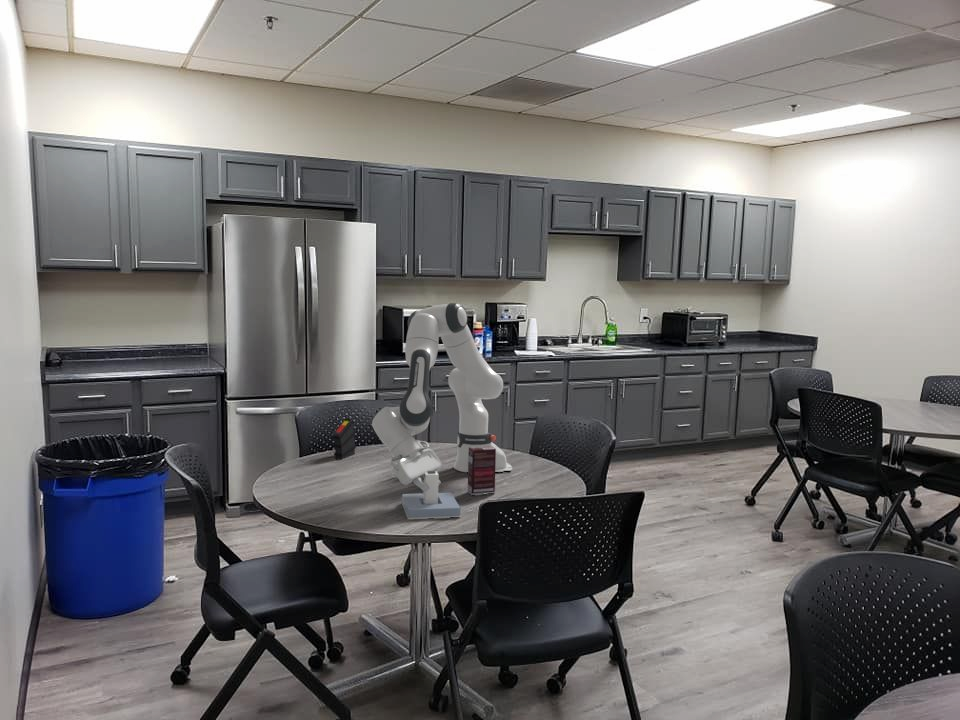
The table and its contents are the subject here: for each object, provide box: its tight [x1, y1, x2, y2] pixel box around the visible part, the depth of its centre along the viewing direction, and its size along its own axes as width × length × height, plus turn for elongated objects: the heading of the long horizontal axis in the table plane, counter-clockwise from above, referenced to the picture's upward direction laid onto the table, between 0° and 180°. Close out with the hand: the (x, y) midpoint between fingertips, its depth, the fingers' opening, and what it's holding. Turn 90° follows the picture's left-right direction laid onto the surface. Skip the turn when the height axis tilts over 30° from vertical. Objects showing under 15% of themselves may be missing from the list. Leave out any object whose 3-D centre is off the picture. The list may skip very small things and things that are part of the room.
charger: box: [422, 470, 440, 504], centre depth 225 cm, size 4×4×11 cm
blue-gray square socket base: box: [401, 492, 462, 520], centre depth 226 cm, size 16×16×3 cm
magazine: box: [331, 418, 357, 460], centre depth 288 cm, size 4×13×15 cm, turn 161°
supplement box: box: [467, 446, 496, 496], centre depth 245 cm, size 9×5×16 cm, turn 110°
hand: (432, 487), depth 225 cm, fingers closed on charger, 5 cm apart
